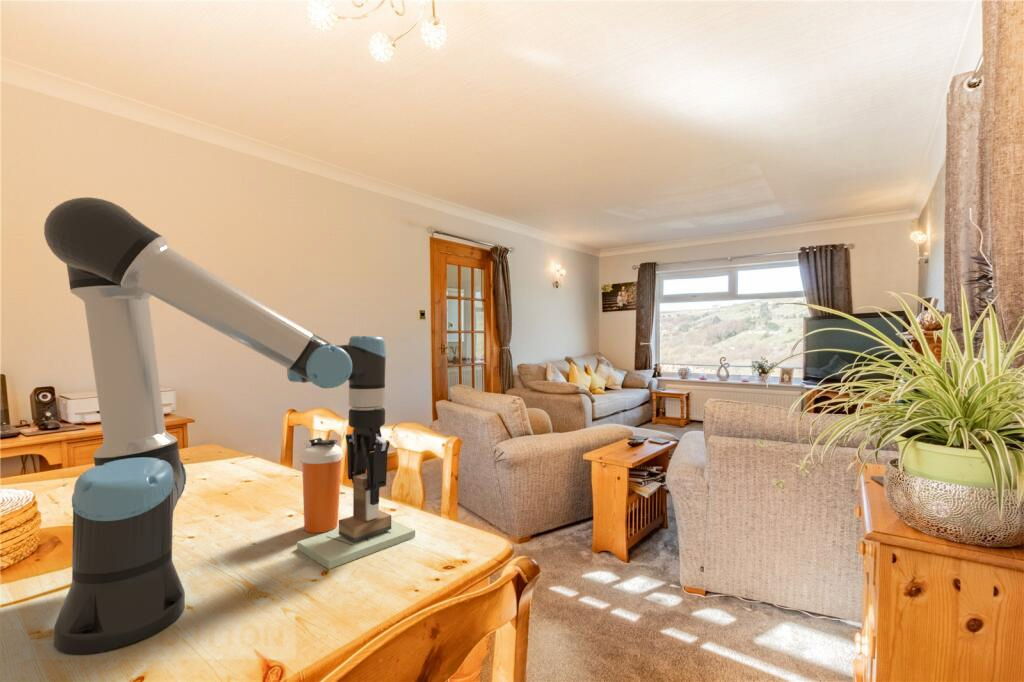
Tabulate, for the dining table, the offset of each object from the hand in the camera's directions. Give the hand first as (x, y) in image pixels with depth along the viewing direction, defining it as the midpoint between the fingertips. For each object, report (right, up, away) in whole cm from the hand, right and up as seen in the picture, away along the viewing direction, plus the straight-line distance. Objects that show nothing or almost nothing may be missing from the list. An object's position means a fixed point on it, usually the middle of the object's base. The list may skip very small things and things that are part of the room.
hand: (366, 516), depth 102 cm
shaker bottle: (-13, -5, +7) cm, 15 cm away
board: (-1, -5, -1) cm, 6 cm away
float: (0, -3, 0) cm, 3 cm away
